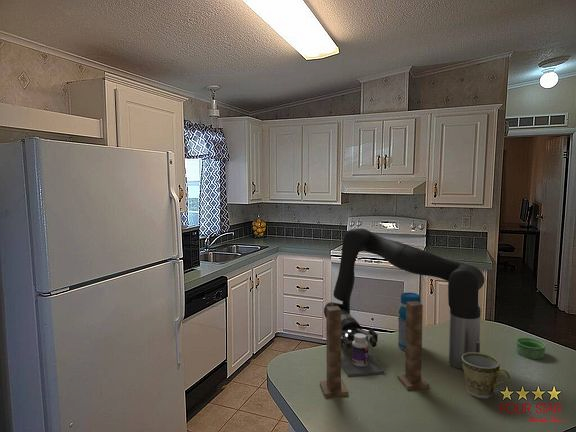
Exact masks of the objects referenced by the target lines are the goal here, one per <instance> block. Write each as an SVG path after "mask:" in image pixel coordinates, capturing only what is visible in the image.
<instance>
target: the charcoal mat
mask: <svg viewBox="0 0 576 432" xmlns="http://www.w3.org/2000/svg"><path fill="white" fill-rule="evenodd" d="M341 367H342V368H343V369H344V371H345V373H346V376H347V377H358V376H371V375H381V374H382V375H383V374H385V370H384V368H382V366H381V365H380V363H379V362H378V361H377V359H375V357H374V356H373V355H372V354H368V365H367V366H364V367H358V366H355V365H353V363H352V355H350V356H349V355H348V356H341Z"/></svg>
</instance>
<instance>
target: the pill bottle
mask: <svg viewBox="0 0 576 432" xmlns="http://www.w3.org/2000/svg"><path fill="white" fill-rule="evenodd" d="M368 355H369V342H367V341H366V335H365V334H361V333H358V334H355V335H354V341H352V342H351V356H352V363H353V365H355V366H358V367H364V366H367V365H368Z"/></svg>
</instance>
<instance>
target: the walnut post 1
mask: <svg viewBox="0 0 576 432" xmlns="http://www.w3.org/2000/svg"><path fill="white" fill-rule="evenodd" d="M325 318H326V322H325V323H326V324H325V325H326V326H325V327H326V336H325V337H326V380H320V381H319V386H320V389H321V391H322V393H323V396H324V398H325V399H327V398H336V397H348V396H349V392H350V391H349V390H348V388H347V386H346V384H345V382H344V380H343V379H342V365H341V357H342V344H341V338H342V337H341V309H340V308H339V307H338V306H329V307H326V317H325Z"/></svg>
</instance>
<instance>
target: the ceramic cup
mask: <svg viewBox="0 0 576 432" xmlns="http://www.w3.org/2000/svg"><path fill="white" fill-rule="evenodd" d="M462 365H463V369H462V370H463V375H464V381H465V387H466V391H467V392H468V394H469V395H471V396H472V397H476V398H478V399H486V400H487V399H490V398H491V397H492V396H493V394H494V390H495V387H496V386H497V385H498V386H499V385H500V384H502V383H505V382H508V381H509V380H510V374H509V372H508V371H507V370H505V369H500V366H501V362H500V361H499V359H498V358H497V357H495V356H492V355H489V354H487V353H482V352H480V353H477V352H469V353H465V354H463V355H462ZM500 373H503V374H505V375H506V377H507V379H504V380H499V382H496V381H497V379H498V375H499V374H500Z"/></svg>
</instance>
